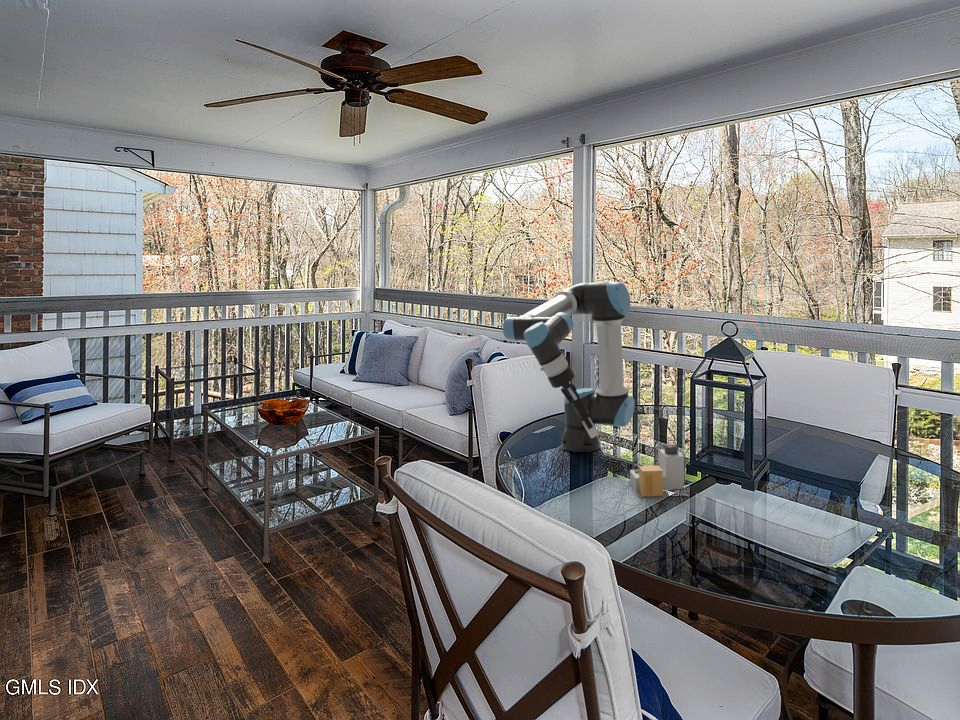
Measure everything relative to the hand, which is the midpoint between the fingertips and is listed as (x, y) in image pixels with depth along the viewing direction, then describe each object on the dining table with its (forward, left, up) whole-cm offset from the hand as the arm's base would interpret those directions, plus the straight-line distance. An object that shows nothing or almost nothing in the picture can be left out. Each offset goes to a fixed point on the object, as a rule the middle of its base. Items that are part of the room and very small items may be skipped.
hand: (594, 435), depth 175 cm
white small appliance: (-12, +16, -19) cm, 28 cm away
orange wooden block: (-7, +15, -19) cm, 25 cm away
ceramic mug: (-30, +16, -19) cm, 39 cm away
